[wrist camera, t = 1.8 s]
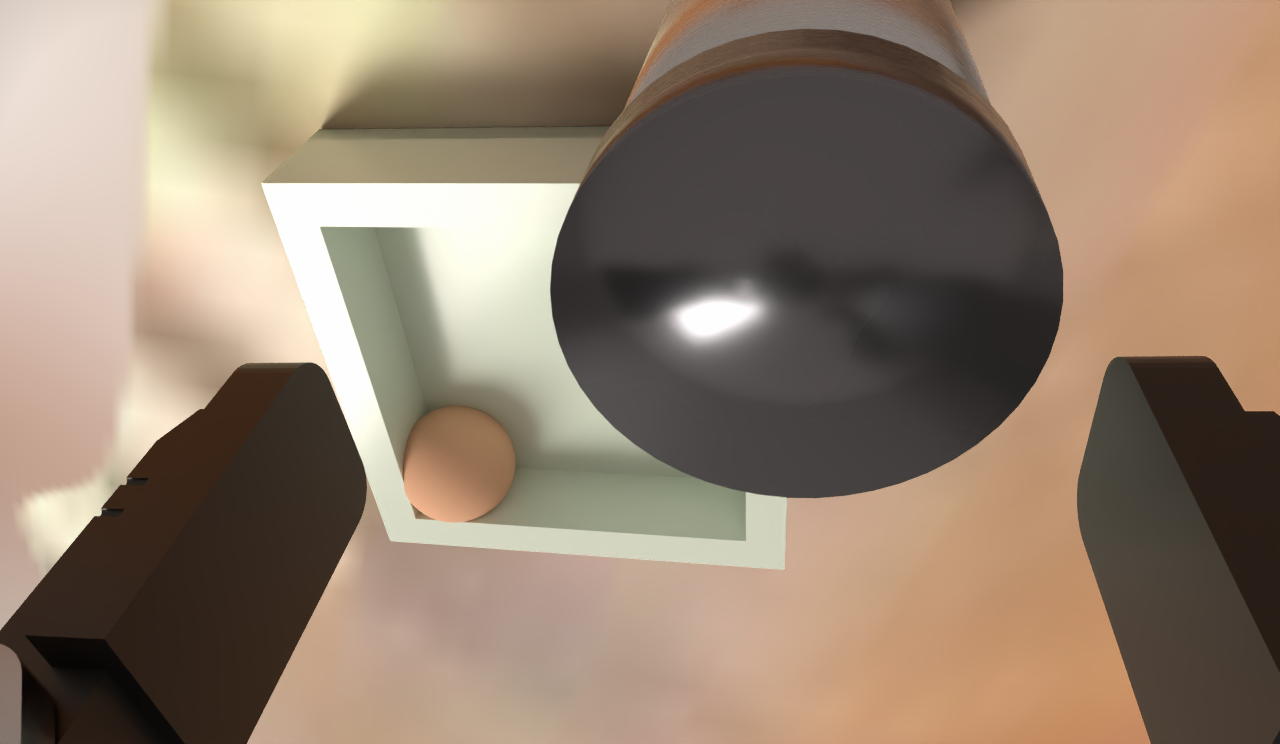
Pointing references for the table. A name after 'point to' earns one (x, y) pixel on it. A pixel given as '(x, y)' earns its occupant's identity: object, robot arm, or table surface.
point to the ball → (457, 464)
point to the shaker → (807, 250)
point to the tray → (483, 341)
